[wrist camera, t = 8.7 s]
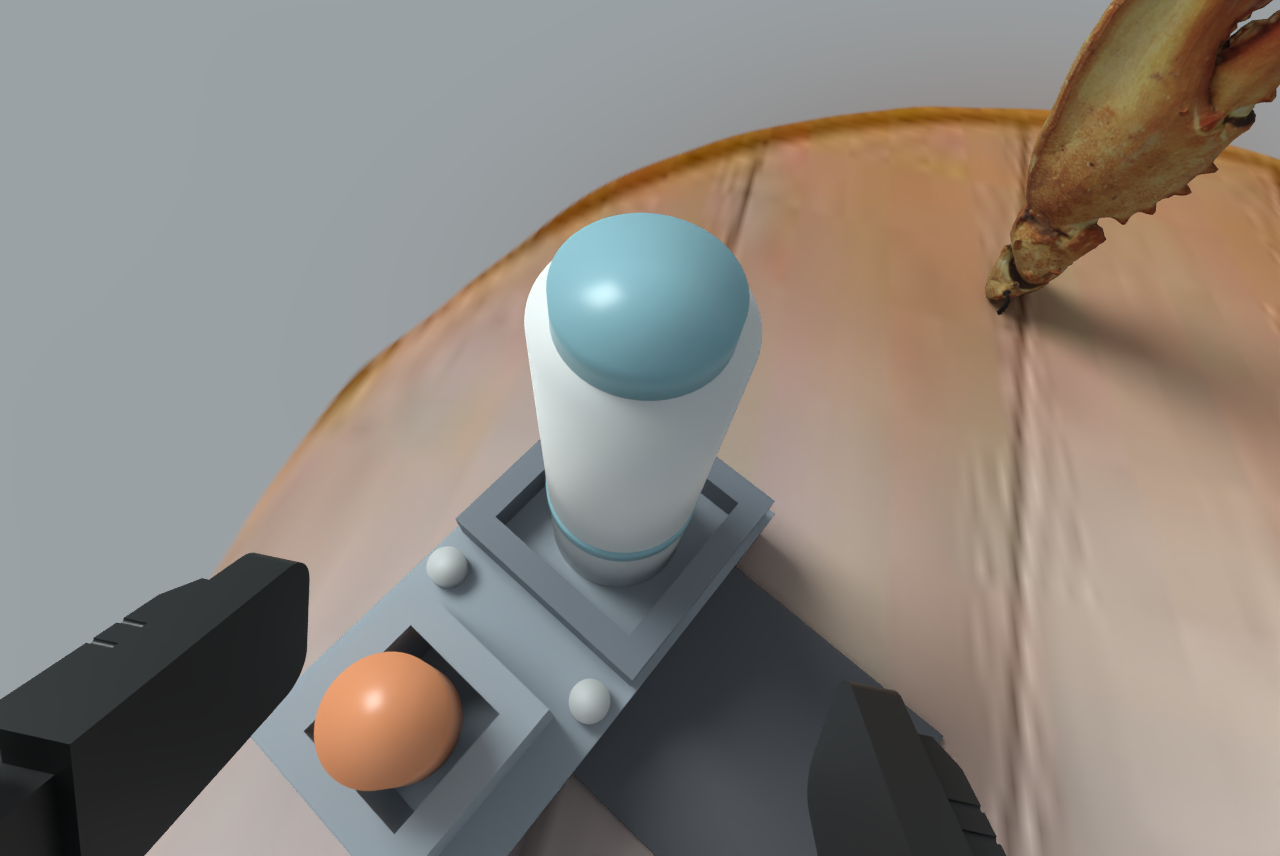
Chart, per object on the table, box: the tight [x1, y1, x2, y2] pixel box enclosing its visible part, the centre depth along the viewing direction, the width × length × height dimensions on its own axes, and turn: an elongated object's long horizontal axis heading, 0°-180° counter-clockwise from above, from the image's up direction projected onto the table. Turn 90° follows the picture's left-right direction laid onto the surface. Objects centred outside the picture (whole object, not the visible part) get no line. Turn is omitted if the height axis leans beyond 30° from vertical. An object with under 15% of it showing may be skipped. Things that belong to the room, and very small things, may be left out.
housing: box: [251, 440, 775, 856], centre depth 23 cm, size 17×9×6 cm, turn 140°
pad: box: [573, 566, 943, 856], centre depth 23 cm, size 10×10×1 cm
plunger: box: [314, 652, 463, 791], centre depth 17 cm, size 3×3×2 cm
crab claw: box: [985, 0, 1280, 315], centre depth 26 cm, size 7×5×20 cm
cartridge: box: [524, 213, 762, 587], centre depth 19 cm, size 5×5×14 cm
